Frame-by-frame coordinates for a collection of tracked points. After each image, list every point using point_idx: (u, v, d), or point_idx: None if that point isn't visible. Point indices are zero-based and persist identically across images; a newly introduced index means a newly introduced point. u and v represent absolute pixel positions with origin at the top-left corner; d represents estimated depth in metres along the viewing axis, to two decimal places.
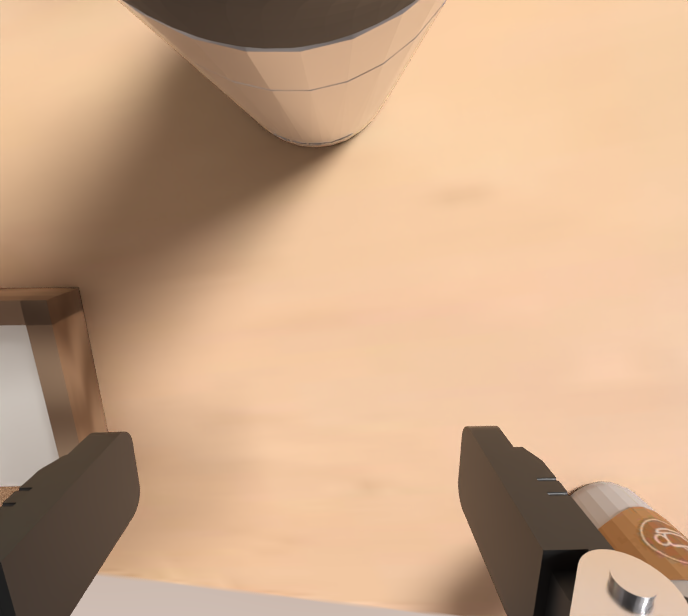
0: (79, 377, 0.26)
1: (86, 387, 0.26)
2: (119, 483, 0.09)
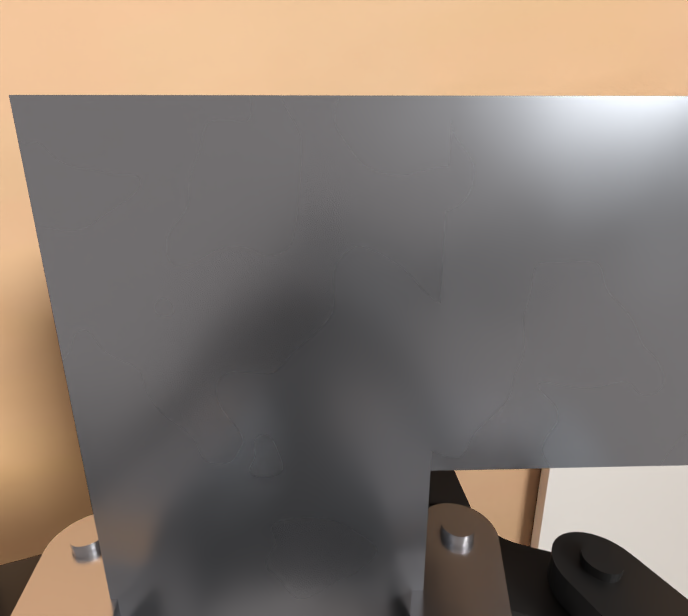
0: None
1: None
2: None
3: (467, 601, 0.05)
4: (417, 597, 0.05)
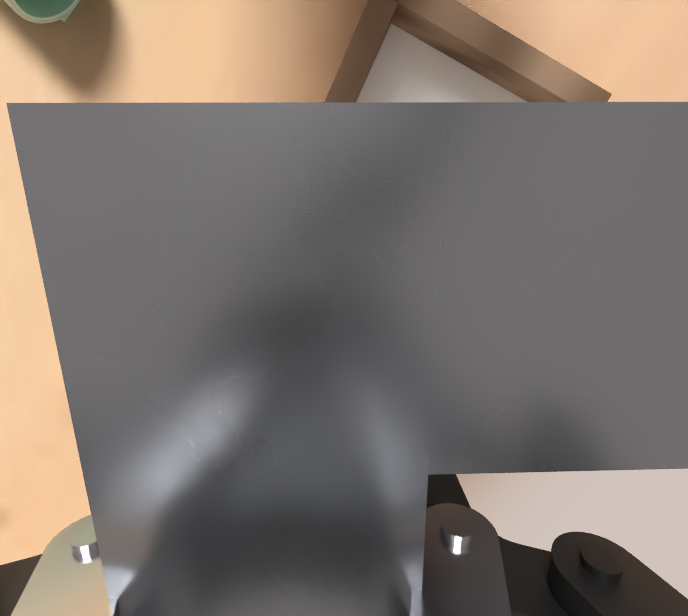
0: None
1: None
2: None
3: (467, 601, 0.05)
4: (416, 597, 0.05)
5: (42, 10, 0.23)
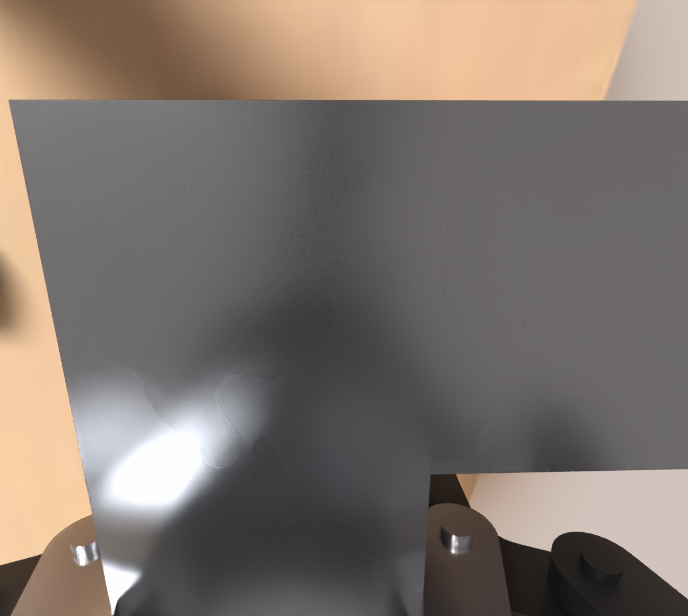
0: None
1: None
2: None
3: (467, 601, 0.05)
4: (417, 596, 0.05)
5: None
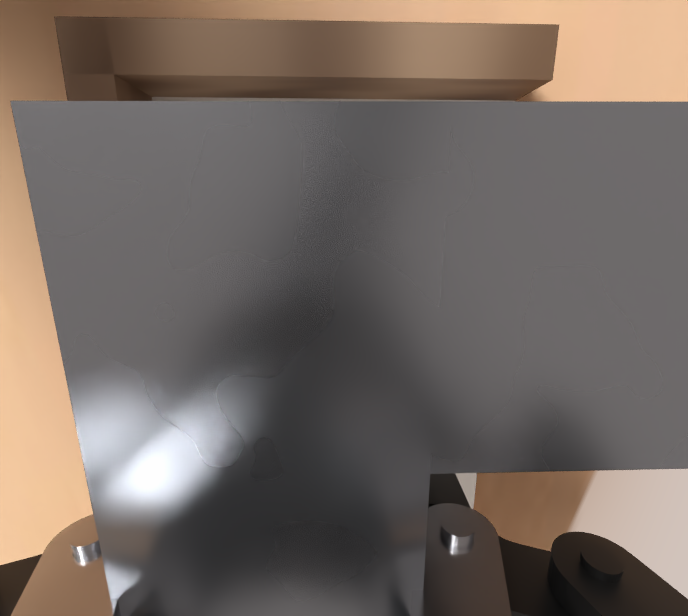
0: None
1: None
2: None
3: (467, 601, 0.05)
4: (417, 596, 0.05)
5: None
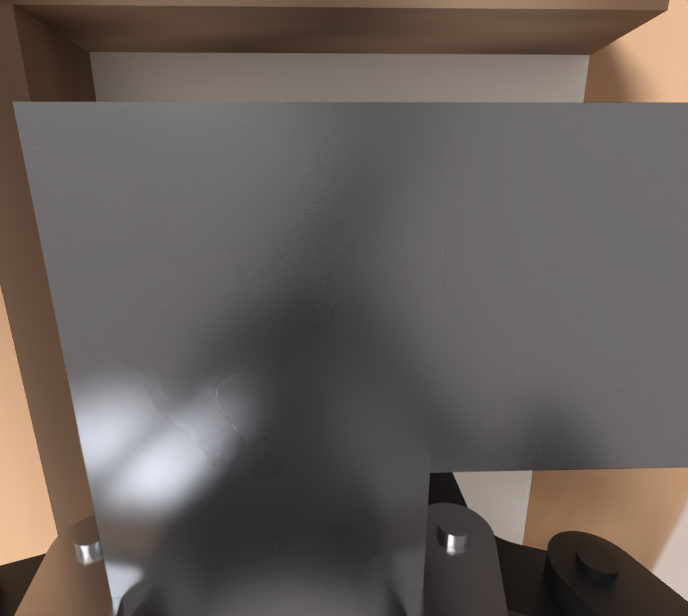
0: None
1: None
2: None
3: (464, 600, 0.05)
4: (413, 596, 0.05)
5: None
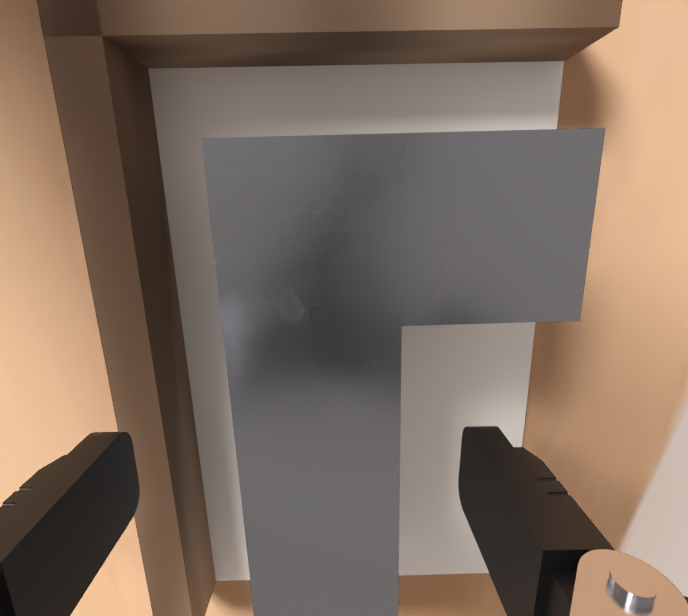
0: None
1: None
2: (119, 483, 0.09)
3: None
4: None
5: None
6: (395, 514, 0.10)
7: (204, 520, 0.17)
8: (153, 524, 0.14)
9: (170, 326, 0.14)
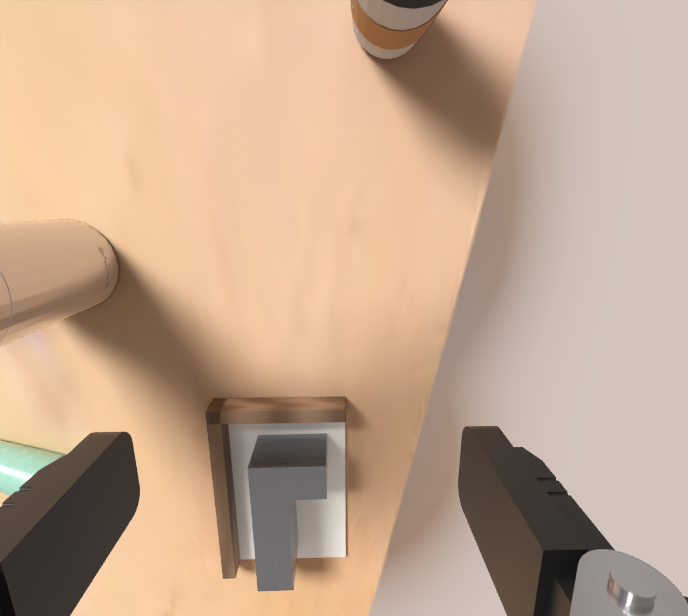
0: (260, 405, 0.44)
1: (269, 403, 0.44)
2: (119, 483, 0.09)
3: None
4: None
5: None
6: (289, 539, 0.43)
7: (237, 538, 0.49)
8: (224, 540, 0.47)
9: (230, 480, 0.46)
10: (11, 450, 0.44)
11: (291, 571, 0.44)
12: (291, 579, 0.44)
